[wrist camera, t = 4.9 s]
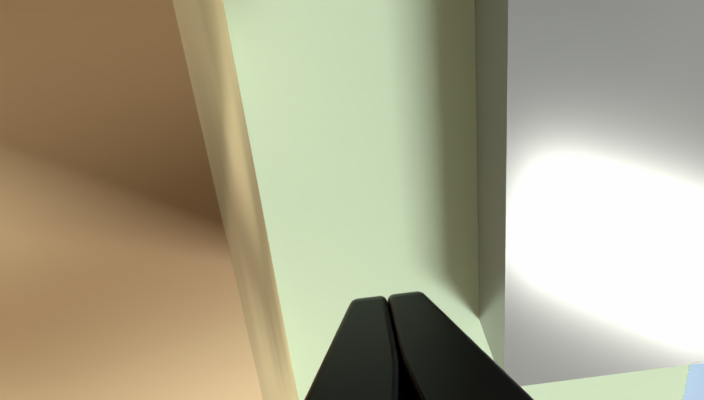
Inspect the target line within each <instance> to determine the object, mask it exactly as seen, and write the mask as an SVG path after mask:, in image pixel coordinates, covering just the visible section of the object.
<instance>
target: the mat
mask: <svg viewBox="0 0 704 400" xmlns="http://www.w3.org/2000/svg"><path fill="white" fill-rule="evenodd" d="M223 4H224V9H225V14H226V19H227V25H228V30H229V35H230V41H231V46H232V51H233V56H234V62H235V67H236V72H237V77H238V83H239V88H240V93H241V99H242V104H243V109H244V114H245V120H246V125H247V130H248V136H249V141H250V146H251V151H252V157H253V162H254V167H255V173H256V178H257V183H258V188H259V194H260V199H261V204H262V210H263V215H264V220H265V225H266V231H267V236H268V241H269V246H270V252H271V257H272V262H273V268H274V273H275V278H276V283H277V289H278V294H279V299H280V305H281V310H282V315H283V320H284V326H285V331H286V336H287V342H288V347H289V352H290V357H291V363H292V368H293V373H294V379H295V384H296V389H297V394H298V400H304V399H305V397H306V395H307V393H308V391H309V389H310V387H311V385H312V382H313V380H314V378H315V376H316V374H317V372H318V370H319V368H320V366H321V363H322V361H323V359H324V357H325V355H326V353H327V351H328V349H329V347H330V344H331V342H332V340H333V338H334V336H335V334H336V332H337V330H338V328H339V326H340V323H341V321H342V319H343V317H344V315H345V313H346V311H347V309H348V307H349V305H350V303H351V301H353V300H354V299H357V298H365V297H374V296H383V297H385V298H386V299H387V302H388V298H389V296H390V295H392V294H398V293H407V292H415V291H420V292H422V293H424V294H425V295H426V296H427V297H428V298H429V299H430V300H431V301H432V302H433V303H434V304H435V305H436V306H437V307H439V308H440V309H441V310H442V311H443V312H444V313H445V314H446V315H447V316H448V317H449V318H450V319H451V320H452V321H453V322H454V323H455V324H456V325H457V326H458V327H459V328H460V329H461V330H462V331H463V332H464V333H466V334H467V335H468V336H469V337H470V338H471V339H472V340H473V341H474V342H475V343H476V344H477V345H478V346H479V347H480V348H481V349H482V350H483V351H484V352H485V353H486V354H487V355H488V356H489V357H490V358H491V359H493V357H492V354H491V351H490V348H489V345H488V343H487V340H486V337H485V334H484V332H483V329H482V326H481V323H480V321H479V278H478V206H477V134H476V62H475V0H223ZM493 360H494V359H493ZM689 367H690V364H689V365H682V366H674V367H666V368H658V369H651V370H643V371H635V372H627V373H620V374H612V375H604V376H596V377H589V378H581V379H573V380H565V381H558V382H550V383H542V384H534V385H527V386H521V387H522V388H523V389H524V390H525V391H526V392H527V393H528V394H529V395H530V396H531V397H532V398H533V399H534V400H683V395H684V390H685V386H686V381H687V376H688V371H689Z"/></svg>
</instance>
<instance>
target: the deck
mask: <svg viewBox="0 0 704 400" xmlns="http://www.w3.org/2000/svg"><path fill="white" fill-rule="evenodd" d="M0 400H298V394H297V389H296V384H295V379H294V373H293V368H292V363H291V357H290V352H289V347H288V342H287V336H286V331H285V326H284V320H283V315H282V310H281V305H280V299H279V294H278V289H277V283H276V278H275V273H274V268H273V262H272V257H271V252H270V246H269V241H268V236H267V231H266V225H265V220H264V215H263V210H262V204H261V199H260V194H259V188H258V183H257V178H256V173H255V167H254V162H253V157H252V151H251V146H250V141H249V136H248V130H247V125H246V120H245V114H244V109H243V104H242V99H241V93H240V88H239V83H238V77H237V72H236V67H235V62H234V56H233V51H232V46H231V41H230V35H229V30H228V25H227V19H226V14H225V9H224V4H223V0H0Z"/></svg>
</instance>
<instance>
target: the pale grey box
mask: <svg viewBox="0 0 704 400" xmlns="http://www.w3.org/2000/svg"><path fill="white" fill-rule="evenodd" d="M475 62H476V134H477V206H478V278H479V321H480V323H481V326H482V329H483V332H484V334H485V337H486V340H487V343H488V345H489V348H490V351H491V354H492V357H493V359H494V361H495V362H496V363H497V364H498V365H499V366H500V367H501V368H502V369H503V370H504V371H505V372H506V373H507V374H508V375H509V376H510V377H511V378H512V379H513V380H514V381H515V382H516V383H517V384H519V385H520V386H527V385H534V384H542V383H550V382H558V381H565V380H573V379H581V378H589V377H596V376H604V375H612V374H620V373H627V372H635V371H643V370H651V369H658V368H666V367H674V366H682V365H689V364H697V363H704V0H475Z"/></svg>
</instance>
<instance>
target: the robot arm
mask: <svg viewBox="0 0 704 400" xmlns="http://www.w3.org/2000/svg"><path fill="white" fill-rule="evenodd" d="M304 400H534V399H533V398H532V397H531V396H530V395H529V394H528V393H527V392H526V391H525V390H524V389H523V388H522V387H521V386H520V385H519V384H517V383H516V382H515V381H514V380H513V379H512V378H511V377H510V376H509V375H508V374H507V373H506V372H505V371H504V370H503V369H502V368H501V367H500V366H499V365H498V364H497V363H496V362H495V361H494V360H493V359H491V358H490V357H489V356H488V355H487V354H486V353H485V352H484V351H483V350H482V349H481V348H480V347H479V346H478V345H477V344H476V343H475V342H474V341H473V340H472V339H471V338H470V337H469V336H468V335H467V334H466V333H464V332H463V331H462V330H461V329H460V328H459V327H458V326H457V325H456V324H455V323H454V322H453V321H452V320H451V319H450V318H449V317H448V316H447V315H446V314H445V313H444V312H443V311H442V310H441V309H440V308H439V307H437V306H436V305H435V304H434V303H433V302H432V301H431V300H430V299H429V298H428V297H427V296H426V295H425V294H424V293H422V292H420V291H415V292H407V293H398V294H392V295H390V296H389V298H388V302H387V299H386V298H385V297H383V296H374V297H365V298H357V299H354V300H353V301H351V303H350V305H349V307H348V309H347V311H346V313H345V315H344V317H343V319H342V321H341V323H340V326H339V328H338V330H337V332H336V334H335V336H334V338H333V340H332V342H331V344H330V347H329V349H328V351H327V353H326V355H325V357H324V359H323V361H322V363H321V366H320V368H319V370H318V372H317V374H316V376H315V378H314V380H313V382H312V385H311V387H310V389H309V391H308V393H307V395H306V397H305V399H304Z"/></svg>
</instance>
